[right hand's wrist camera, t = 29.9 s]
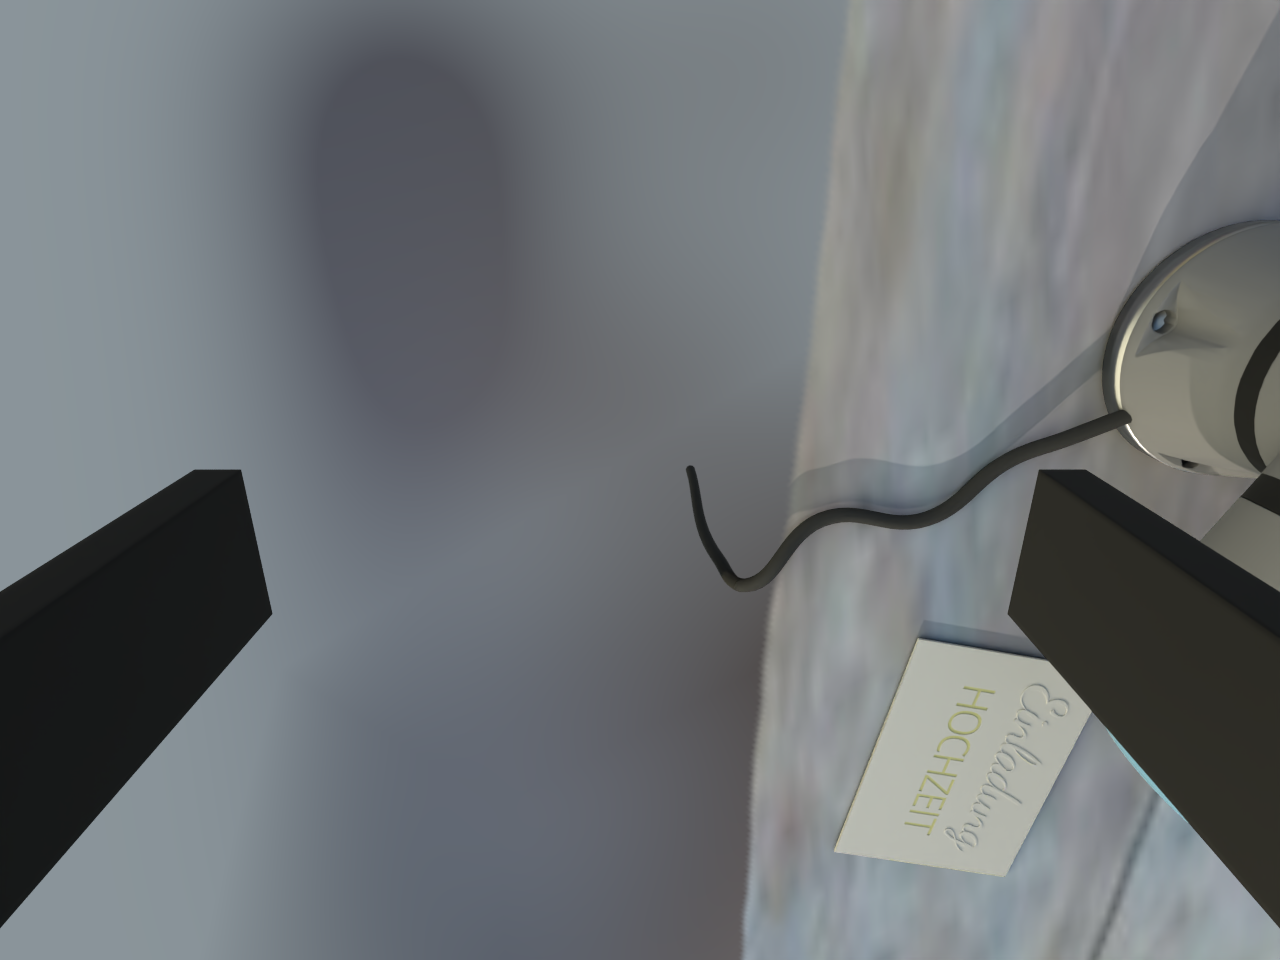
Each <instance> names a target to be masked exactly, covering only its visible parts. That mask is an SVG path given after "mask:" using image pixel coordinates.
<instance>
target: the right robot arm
mask: <svg viewBox="0 0 1280 960" xmlns="http://www.w3.org/2000/svg"><path fill="white" fill-rule="evenodd" d="M1102 385H1103V394H1104V399H1105V403H1106V407H1107V410H1108V413H1109V414H1108V415H1105V416H1103V417H1100V418H1098V419H1095V420H1092V421H1090V422H1087V423H1085V424H1082V425H1080V426H1077V427H1074V428H1072V429H1069V430H1066V431H1064V432H1061V433H1058V434H1055V435H1052V436H1049V437H1046V438H1043V439H1040V440H1037V441H1034V442H1031V443H1028V444H1025V445H1023V446H1020V447H1018V448H1016V449H1014V450H1011V451H1009V452H1008V453H1006V454H1004V455H1002V456H1000V457H999V458H997V459H995V460H994V461H993V462H991V463H990V464H988V465H987V466H986V467H984V468H983V469H982V470H981V471H980V472H978V473H977V474H976V475H975V476H974V477H973V478H972V479H971V480H970V481H969V482H968V483H967V484H965V485H964V486H963V487H962V488H961V489H960V490H959V491H958V492H957V493H956V494H954V495H953V496H952V497H951V498H950V499H948V500H947V501H946V502H944V503H942V504H941V505H939V506H937V507H935V508H933V509H931V510H928V511H926V512H923V513H919V514H915V515H890V514H885V513H880V512H875V511H870V510H864V509H857V508H837V509H831V510H827V511H824V512H821V513H818V514H816V515H814V516H812V517H810V518H808V519H807V520H805V521H804V522H802V523H801V524H800V525H799V526H798V527H796V528H795V529H794V530H793V531H792V532H791V534H790V535H789V536H788V537H787V538H786V539H785V541H784V542H783V543H782V545H781V546H780V547H779V549H778V550H777V552H776V553H775V554H774V556H773V557H772V559H771V560H770V561H769V563H768V564H767V565H766V566H765V567H764V568H763V569H762V570H761V571H760V572H759V573H758V574H756V575H755V576H752V577H750V578H746V579H743V578H739V577H737V575H736V574H735V573H734V572H733V570H732V568H731V567H730V565H729V563H728V561H727V559H726V558H725V557H724V555H723V554H722V552H721V551H720V549H719V548H718V546H717V545H716V543H715V541H714V539H713V537H712V535H711V533H710V531H709V528H708V525H707V522H706V519H705V515H704V511H703V506H702V500H701V494H700V488H699V483H698V478H697V474H696V471H695V468H694V467H693V466H692V465H689V466H687V468H686V473H687V477H688V481H689V487H690V493H691V501H692V507H693V513H694V519H695V523H696V527H697V531H698V534H699V536H700V539H701V541H702V544H703V546H704V548H705V550H706V552H707V553H708V555H709V556H710V558H711V560H712V561H713V563H714V564H715V566H716V568H717V569H718V572H719V573H720V575H721V577H722V579H723V580H724V582H725V583H726V584H727V585H728V586H729V587H731V588H732V589H733V590H735V591H739V592H750V591H755V590H758V589H760V588H763V587H764V586H765V585H767V584H768V583H770V582H771V581H772V580H773V579H774V578H775V577H776V576H777V574H778V573H779V572H780V571H781V569H782V568H783V567H784V565H785V564H786V563H787V561H788V560H789V558H790V557H791V556H792V554H793V553H794V552H795V550H796V549H797V548H798V546H799V545H800V544H801V543H802V542H803V541H804V540H805V539H806V538H807V537H808V536H809V535H810V534H812V533H813V532H815V531H816V530H818V529H820V528H822V527H824V526H827V525H830V524H834V523H840V522H857V523H863V524H869V525H874V526H879V527H885V528H890V529H917V528H922V527H926V526H930V525H933V524H935V523H938V522H940V521H942V520H944V519H946V518H948V517H950V516H951V515H953V514H955V513H956V512H957V511H959V510H960V509H961V508H963V507H964V506H965V505H966V504H967V503H969V502H970V501H971V500H972V499H973V498H974V497H975V496H976V495H977V494H978V493H979V492H980V491H982V490H983V489H984V488H985V487H986V486H987V485H988V484H989V483H990V482H992V481H993V480H994V479H995V478H997V477H998V476H999V475H1001V474H1002V473H1004V472H1005V471H1007V470H1008V469H1010V468H1012V467H1014V466H1015V465H1017V464H1019V463H1022V462H1024V461H1026V460H1029V459H1031V458H1034V457H1037V456H1040V455H1043V454H1046V453H1049V452H1052V451H1056V450H1059V449H1062V448H1065V447H1068V446H1070V445H1073V444H1076V443H1079V442H1081V441H1084V440H1087V439H1089V438H1092V437H1094V436H1097V435H1100V434H1102V433H1105V432H1108V431H1110V430H1113V429H1115V428H1117V429H1118V431H1119V432H1120V433H1121V434H1122V436H1123V437H1124V438H1125V439H1126V440H1127V441H1128V442H1129V443H1130V444H1131V445H1133V446H1134V447H1135V448H1137V449H1138V450H1140V451H1141V452H1143V453H1145V454H1147V455H1148V456H1150V457H1152V458H1154V459H1156V460H1158V461H1160V462H1162V463H1164V464H1166V465H1168V466H1170V467H1173V468H1175V469H1179V470H1182V471H1186V472H1191V473H1197V474H1207V475H1221V476H1230V477H1242V478H1254V479H1256V480H1255V481H1254V482H1253V484H1252V485H1251V486H1250V487H1249V488H1248V489H1247V490H1246V491H1245V493H1244V494H1243V495H1242V496H1241V497H1240V498H1239V499H1238V500H1237V501H1236V502H1235V503H1234V504H1233V505H1232V506H1231V508H1230V509H1229V510H1228V511H1227V512H1226V513H1225V514H1224V515H1223V516H1222V518H1221V519H1220V520H1219V521H1218V522H1217V523H1216V524H1215V525H1214V526H1213V527H1212V529H1211V530H1210V531H1209V532H1208V533H1207V534H1206V535H1205V536H1204V537H1203V539H1202V540H1201V541H1198V540H1197V539H1195V538H1193V537H1192V536H1190V535H1189V534H1187V533H1185V532H1184V531H1182V530H1181V529H1179V528H1178V527H1176V526H1174V525H1173V524H1171V523H1170V522H1168V521H1166V520H1165V519H1163V518H1162V517H1160V516H1158V515H1157V514H1155V513H1154V512H1152V511H1151V510H1149V509H1147V508H1146V507H1144V506H1143V505H1141V504H1139V503H1138V502H1136V501H1135V500H1133V499H1131V498H1130V497H1128V496H1127V495H1125V494H1123V493H1122V492H1120V491H1119V490H1117V489H1116V488H1114V487H1112V486H1111V485H1109V484H1108V483H1106V482H1104V481H1103V480H1101V479H1100V478H1098V477H1096V476H1095V475H1093V474H1092V473H1090V472H1088V471H1087V470H1039V472H1038V477H1037V481H1036V486H1035V490H1034V495H1033V500H1032V504H1031V509H1030V513H1029V518H1028V522H1027V527H1026V532H1025V536H1024V541H1023V545H1022V550H1021V555H1020V559H1019V564H1018V568H1017V573H1016V578H1015V582H1014V587H1013V591H1012V596H1011V601H1010V605H1009V610H1008V615H1009V616H1010V617H1011V618H1012V620H1013V621H1014V622H1015V623H1016V624H1017V625H1018V627H1019V628H1020V629H1021V630H1022V631H1023V632H1024V633H1025V635H1026V636H1027V637H1028V638H1029V639H1030V640H1031V642H1032V643H1033V644H1034V645H1035V646H1036V647H1037V648H1038V650H1039V651H1040V652H1041V653H1042V654H1043V655H1044V657H1045V658H1046V659H1047V660H1048V661H1049V662H1050V663H1051V665H1052V666H1053V667H1054V668H1055V669H1056V670H1057V672H1058V673H1059V674H1060V675H1061V676H1062V677H1063V678H1064V680H1065V681H1066V682H1067V683H1068V684H1069V685H1070V687H1071V688H1072V689H1073V690H1074V691H1075V692H1076V693H1077V695H1078V696H1079V697H1080V698H1081V699H1082V700H1083V702H1084V703H1085V704H1086V705H1087V706H1088V707H1089V708H1090V710H1091V711H1092V712H1093V713H1094V714H1095V715H1096V717H1097V718H1098V719H1099V720H1100V721H1101V722H1102V723H1103V725H1104V726H1105V727H1106V729H1107V731H1108V732H1109V734H1110V735H1111V737H1112V738H1113V740H1114V741H1115V743H1116V744H1117V746H1118V747H1119V749H1120V750H1121V751H1122V753H1123V754H1124V755H1125V756H1126V758H1127V759H1128V760H1129V762H1130V763H1131V764H1132V765H1133V766H1134V768H1135V769H1136V770H1137V771H1138V772H1139V774H1140V775H1141V776H1142V777H1143V778H1144V779H1145V780H1146V781H1147V783H1148V784H1149V785H1150V786H1151V787H1152V788H1153V789H1154V790H1155V791H1156V792H1157V793H1158V794H1159V795H1160V796H1161V797H1162V798H1163V800H1164V801H1165V802H1166V803H1167V804H1168V805H1169V806H1170V807H1171V808H1173V809H1174V810H1175V811H1176V812H1177V813H1178V814H1179V815H1180V816H1181V817H1182V818H1183V819H1184V820H1185V821H1186V822H1188V823H1189V824H1190V825H1191V826H1192V827H1193V829H1194V830H1195V831H1196V832H1197V833H1198V834H1199V835H1200V837H1201V838H1202V839H1203V840H1204V841H1205V842H1206V844H1207V845H1208V846H1209V847H1210V848H1211V849H1212V850H1213V852H1214V853H1215V854H1216V855H1217V856H1218V857H1219V859H1220V860H1221V861H1222V862H1223V863H1224V864H1225V865H1226V867H1227V868H1228V869H1229V870H1230V871H1231V872H1232V874H1233V875H1234V876H1235V877H1236V878H1237V879H1238V880H1239V882H1240V883H1241V884H1242V885H1243V886H1244V887H1245V889H1246V890H1247V891H1248V892H1249V893H1250V894H1251V895H1252V897H1253V898H1254V899H1255V900H1256V901H1257V902H1258V904H1259V905H1260V906H1261V907H1262V908H1263V909H1264V910H1265V912H1266V913H1267V914H1268V915H1269V916H1270V917H1271V919H1272V920H1273V921H1274V922H1275V923H1276V924H1277V925H1278V927H1279V928H1280V221H1278V220H1259V221H1249V222H1243V223H1238V224H1234V225H1230V226H1227V227H1224V228H1220V229H1218V230H1215V231H1213V232H1210V233H1208V234H1205V235H1203V236H1201V237H1199V238H1197V239H1195V240H1193V241H1192V242H1190V243H1188V244H1187V245H1185V246H1183V247H1182V248H1180V249H1179V250H1177V251H1176V252H1175V253H1173V254H1172V255H1170V256H1169V257H1168V258H1167V259H1165V260H1164V261H1163V262H1162V263H1161V264H1159V265H1158V266H1157V267H1156V268H1155V269H1154V270H1153V271H1152V272H1151V273H1150V274H1149V275H1148V276H1147V277H1146V278H1145V279H1144V280H1143V282H1142V283H1141V284H1140V285H1139V286H1138V287H1137V289H1136V290H1135V291H1134V293H1133V294H1132V295H1131V297H1130V298H1129V300H1128V301H1127V303H1126V304H1125V306H1124V307H1123V309H1122V311H1121V313H1120V314H1119V316H1118V318H1117V320H1116V322H1115V325H1114V327H1113V329H1112V332H1111V334H1110V337H1109V340H1108V343H1107V347H1106V351H1105V355H1104V361H1103V369H1102ZM271 615H272V610H271V605H270V601H269V596H268V591H267V587H266V582H265V578H264V573H263V568H262V564H261V559H260V555H259V550H258V545H257V541H256V536H255V532H254V527H253V523H252V518H251V513H250V509H249V504H248V500H247V495H246V490H245V486H244V481H243V477H242V472H241V470H193V471H192V472H190V473H188V474H187V475H185V476H184V477H182V478H181V479H179V480H177V481H176V482H174V483H173V484H171V485H169V486H168V487H166V488H164V489H163V490H161V491H160V492H158V493H157V494H155V495H153V496H152V497H150V498H149V499H147V500H145V501H144V502H142V503H141V504H139V505H137V506H136V507H134V508H133V509H131V510H130V511H128V512H126V513H125V514H123V515H122V516H120V517H118V518H117V519H115V520H114V521H112V522H110V523H109V524H107V525H106V526H104V527H102V528H101V529H99V530H98V531H96V532H95V533H93V534H91V535H90V536H88V537H87V538H85V539H83V540H82V541H80V542H79V543H77V544H75V545H74V546H72V547H71V548H69V549H68V550H66V551H64V552H63V553H61V554H60V555H58V556H56V557H55V558H53V559H52V560H50V561H48V562H47V563H45V564H44V565H42V566H40V567H39V568H37V569H36V570H34V571H32V572H31V573H29V574H28V575H26V576H25V577H23V578H21V579H20V580H18V581H17V582H15V583H13V584H12V585H10V586H9V587H7V588H6V589H4V590H2V591H1V592H0V928H1V927H2V925H3V924H4V923H5V922H6V921H7V920H8V919H9V917H10V916H11V915H12V914H13V913H14V912H15V910H16V909H17V908H18V907H19V906H20V905H21V904H22V902H23V901H24V900H25V899H26V898H27V897H28V895H29V894H30V893H31V892H32V891H33V890H34V889H35V887H36V886H37V885H38V884H39V883H40V882H41V880H42V879H43V878H44V877H45V876H46V875H47V874H48V872H49V871H50V870H51V869H52V868H53V867H54V865H55V864H56V863H57V862H58V861H59V860H60V859H61V857H62V856H63V855H64V854H65V853H66V852H67V850H68V849H69V848H70V847H71V846H72V845H73V844H74V842H75V841H76V840H77V839H78V838H79V837H80V835H81V834H82V833H83V832H84V831H85V830H86V829H87V827H88V826H89V825H90V824H91V823H92V822H93V820H94V819H95V818H96V817H97V816H98V815H99V814H100V812H101V811H102V810H103V809H104V808H105V807H106V805H107V804H108V803H109V802H110V801H111V800H112V798H113V797H114V796H115V795H116V794H117V793H118V792H119V790H120V789H121V788H122V787H123V786H124V785H125V783H126V782H127V781H128V780H129V779H130V778H131V777H132V775H133V774H134V773H135V772H136V771H137V770H138V768H139V767H140V766H141V765H142V764H143V763H144V762H145V760H146V759H147V758H148V757H149V756H150V755H151V753H152V752H153V751H154V750H155V749H156V748H157V746H158V745H159V744H160V743H161V742H162V741H163V740H164V738H165V737H166V736H167V735H168V734H169V733H170V732H171V730H172V729H173V728H174V727H175V726H176V725H177V723H178V722H179V721H180V720H181V719H182V718H183V717H184V715H185V714H186V713H187V712H188V711H189V710H190V708H191V707H192V706H193V705H194V704H195V703H196V702H197V700H198V699H199V698H200V697H201V696H202V695H203V693H204V692H205V691H206V690H207V689H208V688H209V687H210V685H211V684H212V683H213V682H214V681H215V680H216V678H217V677H218V676H219V675H220V674H221V673H222V672H223V670H224V669H225V668H226V667H227V666H228V665H229V663H230V662H231V661H232V660H233V659H234V658H235V656H236V655H237V654H238V653H239V652H240V651H241V650H242V648H243V647H244V646H245V645H246V644H247V643H248V641H249V640H250V639H251V638H252V637H253V636H254V635H255V633H256V632H257V631H258V630H259V629H260V628H261V627H262V625H263V624H264V623H265V622H266V621H267V620H268V618H269V617H270V616H271Z"/></svg>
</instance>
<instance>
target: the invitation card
mask: <svg viewBox="0 0 1280 960" xmlns="http://www.w3.org/2000/svg"><path fill="white" fill-rule="evenodd" d="M1091 712H1092V711H1091V710H1090V708H1089V707H1088V706H1087V705H1086V704H1085V703H1084V702H1083V700H1082V699H1081V698H1080V697H1079V696H1078V695H1077V693H1076V692H1075V691H1074V690H1073V689H1072V688H1071V687H1070V685H1069V684H1068V683H1067V682H1066V681H1065V680H1064V678H1063V677H1062V676H1061V675H1060V674H1059V673H1058V672H1057V670H1056V669H1055V668H1054V667H1053V666H1052V665H1051V663H1050V662H1049V661H1048V660H1046V659H1040V658H1034V657H1028V656H1022V655H1017V654H1011V653H1005V652H999V651H993V650H987V649H981V648H975V647H969V646H964V645H958V644H952V643H946V642H940V641H934V640H928V639H922V638H918V639H917V642H916V644H915V647H914V649H913V652H912V654H911V657H910V659H909V662H908V664H907V667H906V669H905V672H904V674H903V677H902V680H901V682H900V685H899V687H898V690H897V692H896V695H895V697H894V700H893V702H892V705H891V707H890V710H889V712H888V715H887V717H886V720H885V722H884V725H883V727H882V730H881V733H880V735H879V738H878V740H877V743H876V745H875V748H874V750H873V753H872V755H871V758H870V760H869V763H868V765H867V768H866V770H865V773H864V775H863V778H862V780H861V783H860V785H859V788H858V791H857V793H856V796H855V798H854V801H853V803H852V806H851V808H850V811H849V813H848V816H847V818H846V821H845V823H844V826H843V828H842V831H841V833H840V836H839V838H838V841H837V843H836V846H835V849H834V852H838V853H845V854H852V855H859V856H866V857H872V858H879V859H886V860H893V861H900V862H907V863H913V864H920V865H927V866H934V867H941V868H947V869H954V870H961V871H968V872H975V873H981V874H988V875H995V876H1002V877H1005V876H1006V874H1007V872H1008V870H1009V868H1010V866H1011V864H1012V862H1013V861H1014V859H1015V857H1016V855H1017V853H1018V851H1019V849H1020V847H1021V845H1022V843H1023V841H1024V840H1025V838H1026V836H1027V834H1028V832H1029V830H1030V828H1031V826H1032V824H1033V822H1034V820H1035V819H1036V817H1037V815H1038V813H1039V811H1040V809H1041V807H1042V805H1043V803H1044V801H1045V799H1046V798H1047V796H1048V794H1049V792H1050V790H1051V788H1052V786H1053V784H1054V782H1055V780H1056V779H1057V777H1058V775H1059V773H1060V771H1061V769H1062V767H1063V765H1064V763H1065V761H1066V759H1067V758H1068V756H1069V754H1070V752H1071V750H1072V748H1073V746H1074V744H1075V742H1076V740H1077V738H1078V737H1079V735H1080V733H1081V731H1082V729H1083V727H1084V725H1085V723H1086V721H1087V719H1088V717H1089V716H1090V714H1091Z"/></svg>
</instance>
